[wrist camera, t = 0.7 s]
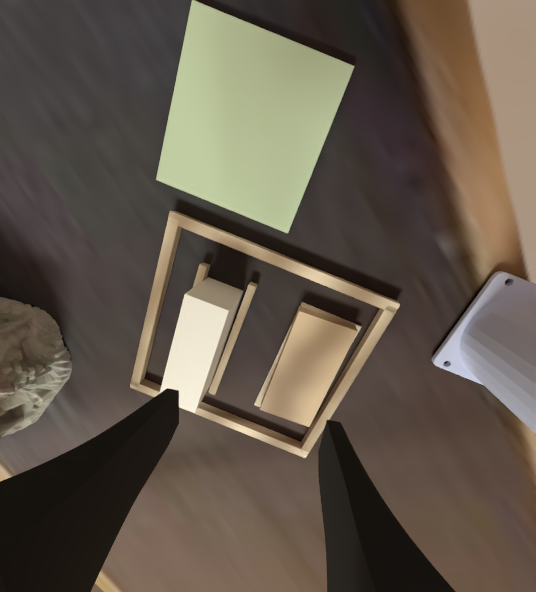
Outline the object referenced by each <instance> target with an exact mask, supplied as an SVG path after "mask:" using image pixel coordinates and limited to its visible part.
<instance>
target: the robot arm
mask: <svg viewBox="0 0 536 592" xmlns="http://www.w3.org/2000/svg"><path fill="white" fill-rule="evenodd" d="M507 279H509V282H508V283H507V284H505V281H506V280H507ZM445 361H448V362H447V363H446V364H444V362H445ZM432 362H433V363H434V364H435V365H436V366H438V367H440V368H443V369H445V370H448V371H450V372H452V373H455V374H457V375H460V376H462V377H465V378H467V379H470V380H472V381H475V382H477V383H480V384H482V385H484V386H485V387H487V388H488V389H489V390H490V391H491V392H492V393H493V394H494V395H495V396H496V397H497V398H498V399H499V400H500V401H501V402H502V403H503V404H504V405H506V406H507V407H508V408H509V409H510V410H511V411H512V412H513V413H514V414H515V415H516V416H517V417H518V418H519V419H520V420H521V421H522V422H523V423H525V424H526V425H527V426H528V427H529V428H530V429H531V430H532V431H533V432H534V433H535V434H536V284H534V283H531V282H529V281H526V280H524V279H521V278H519V277H516V276H514V275H511V274H509V273H506V272H503V271H498V272H496V273H494V274H493V275H492V276H491V277H490V279H489V280H488V281H487V283H486V284H485V286H484V287H483V288H482V290H481V291H480V292H479V294H478V295H477V297H476V298H475V299H474V301H473V302H472V303H471V305H470V306H469V308H468V309H467V310H466V312H465V313H464V314H463V316H462V317H461V319H460V320H459V321H458V323H457V324H456V325H455V327H454V328H453V330H452V331H451V332H450V334H449V335H448V336H447V338H446V339H445V341H444V342H443V343H442V345H441V346H440V347H439V349H438V350H437V352H436V353H435V354H434V356H433V357H432ZM178 424H179V390H174V389H169V388H167V389H165V390H164V391H162V392H161V393H160V394H158V395H157V396H155V397H154V398H153V399H151V400H150V401H149V402H147V403H146V404H144V405H143V406H142V407H140V408H139V409H137V410H136V411H135V412H133V413H132V414H130V415H129V416H127V417H126V418H124V419H123V420H121V421H120V422H118V423H117V424H115V425H114V426H112V427H111V428H109V429H107V430H106V431H104V432H103V433H101V434H99V435H98V436H96V437H94V438H92V439H91V440H89V441H87V442H85V443H83V444H82V445H80V446H78V447H76V448H74V449H72V450H70V451H68V452H66V453H64V454H62V455H60V456H58V457H56V458H54V459H52V460H50V461H48V462H46V463H43V464H41V465H39V466H37V467H34V468H32V469H30V470H28V471H25V472H23V473H20V474H18V475H16V476H13V477H11V478H8V479H6V480H3V481H1V482H0V592H91V590H92V587H93V585H94V583H95V581H96V579H97V577H98V575H99V572H100V570H101V568H102V566H103V564H104V562H105V560H106V557H107V555H108V553H109V551H110V549H111V547H112V545H113V543H114V541H115V539H116V537H117V535H118V533H119V531H120V529H121V527H122V525H123V523H124V521H125V519H126V517H127V515H128V513H129V511H130V509H131V507H132V505H133V503H134V502H135V500H136V498H137V496H138V494H139V493H140V491H141V489H142V488H143V486H144V485H145V483H146V481H147V480H148V478H149V476H150V475H151V473H152V471H153V470H154V468H155V466H156V465H157V463H158V462H159V460H160V458H161V457H162V455H163V453H164V452H165V450H166V448H167V447H168V445H169V443H170V441H171V439H172V437H173V435H174V432H175V430H176V428H177V426H178ZM319 485H320V495H321V504H322V513H323V522H324V531H325V542H326V558H327V591H328V592H455V591H454V590H453V588H452V587H451V586H450V585H449V584H448V583H447V582H446V580H445V579H444V578H443V577H442V576H441V575H440V574H439V572H438V571H437V570H436V569H435V568H434V567H433V565H432V564H431V563H430V562H429V560H428V559H427V558H426V557H425V555H424V554H423V553H422V552H421V550H420V549H419V548H418V547H417V545H416V544H415V543H414V542H413V540H412V539H411V538H410V537H409V535H408V534H407V533H406V531H405V530H404V529H403V527H402V526H401V525H400V523H399V522H398V521H397V519H396V518H395V516H394V515H393V513H392V512H391V511H390V509H389V508H388V506H387V505H386V503H385V502H384V500H383V499H382V497H381V496H380V494H379V492H378V491H377V489H376V488H375V486H374V484H373V483H372V481H371V479H370V478H369V476H368V474H367V473H366V471H365V469H364V467H363V465H362V464H361V462H360V460H359V458H358V456H357V455H356V453H355V451H354V449H353V447H352V445H351V443H350V441H349V439H348V437H347V435H346V433H345V431H344V428H343V426H342V424H341V423H340V422H336V421H331V420H327V421H326V425H325V429H324V433H323V436H322V440H321V444H320V448H319Z"/></svg>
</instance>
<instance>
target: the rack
mask: <svg viewBox="0 0 536 592" xmlns="http://www.w3.org/2000/svg"><path fill="white" fill-rule="evenodd" d="M182 228H184V229H187V230H189V231H192V232H194V233H197V234H199V235H202V236H204V237H206V238H209V239H211V240H214V241H216V242H219V243H221V244H224V245H226V246H229V247H231V248H234V249H236V250H238V251H241V252H243V253H246V254H248V255H251V256H253V257H256V258H258V259H261V260H263V261H265V262H268V263H270V264H273V265H275V266H278V267H280V268H283V269H285V270H288V271H290V272H293V273H295V274H297V275H300V276H302V277H305V278H307V279H310V280H312V281H315V282H317V283H320V284H322V285H324V286H327V287H329V288H332V289H334V290H337V291H339V292H342V293H344V294H347V295H349V296H352V297H354V298H356V299H359V300H361V301H364V302H366V303H369V304H371V305H374V306H376V307H379V308H380V309H379V311H378V312H377V314H376V316H375V317H374V319H373V321H372V323H371V324H370V326H369V328H368V329H367V331H366V333H365V334H364V336H363V338H362V339H361V341H360V343H359V345H358V346H357V348H356V350H355V351H354V353H353V355H352V356H351V358H350V360H349V361H348V363H347V365H346V367H345V368H344V370H343V372H342V373H341V375H340V377H339V378H338V380H337V382H336V383H335V385H334V387H333V389H332V390H331V392H330V394H329V395H328V397H327V399H326V400H325V402H324V404H323V406H322V407H321V409H320V411H319V412H318V414H317V416H316V417H315V419H314V421H313V422H312V424H311V426H310V428H309V429H308V431H307V433H306V434H305V436H304V438H303V439H302V441H301V442H300V441H297V440H295V439H292V438H290V437H288V436H285V435H283V434H280V433H278V432H275V431H273V430H270V429H268V428H265V427H263V426H260V425H258V424H255V423H253V422H250V421H248V420H245V419H243V418H241V417H238V416H236V415H233V414H231V413H228V412H226V411H223V410H221V409H218V408H216V407H213V406H211V405H208V404H206V403H203V402H201V403H200V405H199V406H198V408H197V410H196V412H195V414H197V415H200V416H202V417H205V418H207V419H210V420H212V421H215V422H217V423H220V424H222V425H225V426H227V427H230V428H232V429H234V430H237V431H239V432H242V433H244V434H247V435H249V436H252V437H254V438H257V439H259V440H262V441H264V442H267V443H269V444H272V445H274V446H277V447H279V448H281V449H284V450H286V451H289V452H291V453H294V454H296V455H299V456H301V457H304V458H306V457H307V455H308V453H309V452H310V450H311V448H312V447H313V445H314V444H315V442H316V440H317V439H318V437H319V436H320V434H321V432H322V431H323V429H324V427H325V425H326V421H327V420H329V419H330V418H331V416H332V415H333V413H334V411H335V410H336V408H337V406H338V405H339V403H340V402H341V400H342V398H343V397H344V395H345V393H346V392H347V390H348V389H349V387H350V385H351V384H352V382H353V381H354V379H355V377H356V376H357V374H358V372H359V371H360V369H361V368H362V366H363V364H364V363H365V361H366V360H367V358H368V356H369V355H370V353H371V351H372V350H373V348H374V347H375V345H376V343H377V342H378V340H379V339H380V337H381V335H382V334H383V332H384V330H385V329H386V327H387V326H388V324H389V322H390V321H391V319H392V318H393V316H394V314H395V313H396V311H397V309H398V308H399V306H400V304H399V303H398V302H397V301H396V300H393V299H391V298H388V297H386V296H383V295H381V294H378V293H376V292H374V291H371V290H369V289H366V288H364V287H361V286H359V285H356V284H354V283H351V282H349V281H346V280H344V279H342V278H339V277H337V276H334V275H332V274H329V273H327V272H324V271H322V270H319V269H317V268H315V267H312V266H310V265H307V264H305V263H302V262H300V261H297V260H295V259H292V258H290V257H288V256H285V255H283V254H280V253H278V252H275V251H273V250H270V249H268V248H265V247H263V246H260V245H258V244H256V243H253V242H251V241H248V240H246V239H243V238H241V237H238V236H236V235H233V234H231V233H229V232H226V231H224V230H221V229H219V228H216V227H214V226H211V225H209V224H206V223H204V222H202V221H199V220H197V219H194V218H192V217H189V216H187V215H184V214H182V213H179V212H177V211H170V213H169V217H168V222H167V226H166V231H165V235H164V239H163V244H162V248H161V253H160V257H159V261H158V266H157V270H156V275H155V279H154V283H153V288H152V292H151V297H150V301H149V305H148V310H147V314H146V318H145V323H144V327H143V332H142V336H141V340H140V345H139V349H138V354H137V358H136V362H135V367H134V371H133V376H132V380H131V384H130V387H131V388H133V389H136V390H138V391H140V392H143V393H145V394H148V395H150V396H153V397H155V396H157V395H158V394H159V393H160V389H161V385H159V384H156V383H154V382H151V381H149V380H147V379H144V378H145V374H146V370H147V366H148V362H149V358H150V354H151V350H152V346H153V342H154V338H155V334H156V330H157V326H158V322H159V318H160V314H161V310H162V306H163V302H164V298H165V294H166V290H167V286H168V282H169V278H170V274H171V270H172V266H173V262H174V258H175V254H176V250H177V246H178V242H179V238H180V234H181V230H182ZM209 269H210V265H209V264H206V263H204V262H203V263H201V264H199V268H198V271H197V275H196V278H195V282H194V285H193V288H194V287H195V286H197V285H198V284H200V283H201V282H202V281H204V280H205V279H206V278H207V275H208V272H209ZM257 285H258V284H256V283H253V282H250V283H249V285H248V288H247V290H246V293H245V296H244V298H243V301H242V304H241V307H240V309H239V312H238V315H237V317H236V320H235V323H234V325H233V328H232V331H231V333H230V336H229V339H228V342H227V344H226V347H225V350H224V352H223V355H222V358H221V360H220V363H219V366H218V368H217V371H216V374H215V377H214V379H213V382H212V385H211V387H210V390H209V393H211V394H213V395H215V393H216V391H217V389H218V387H219V384H220V381H221V379H222V376H223V374H224V371H225V368H226V366H227V363H228V361H229V358H230V355H231V353H232V350H233V348H234V345H235V342H236V340H237V337H238V335H239V332H240V329H241V327H242V324H243V322H244V319H245V317H246V314H247V311H248V309H249V306H250V304H251V301H252V298H253V296H254V293H255V291H256V288H257ZM185 410H186V409H185ZM187 411H188V410H187ZM190 412H191V411H190ZM192 413H193V412H192Z"/></svg>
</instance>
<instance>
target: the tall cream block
mask: <svg viewBox="0 0 536 592" xmlns="http://www.w3.org/2000/svg"><path fill="white" fill-rule="evenodd" d="M242 294H243V290H240V289H238V288H235V287H232V286H230V285H227V284H225V283H222V282H219V281H217V280H214V279H211V278H209V277H208V278H207V279H205V280H204V281H202V282H201V283H200V284H198V285H197V286H195V287H194V288H193V289H191V290H190V291H188V292H187V293H185V295H184V299H183V303H182V307H181V311H180V315H179V319H178V323H177V327H176V330H175V334H174V338H173V342H172V346H171V350H170V354H169V358H168V362H167V366H166V370H165V373H164V377H163V381H162V385H161V389H160V393H161V392H162V391H164V390H165V389H167V388H169V389H174V390H179V407H180V408H183V409H186V410H188V411H191V412H193V413H195V412H196V410H197V408H198V406H199V405H200V403H201V401H202V399H203V397H204V395H205V393H206V391H207V389H208V387H209V386H210V384H211V382H212V380H213V378H214V375H215V372H216V369H217V367H218V364H219V361H220V358H221V355H222V352H223V349H224V346H225V343H226V340H227V337H228V334H229V332H230V329H231V326H232V323H233V320H234V317H235V314H236V311H237V308H238V305H239V302H240V299H241V296H242ZM160 393H159V394H160Z"/></svg>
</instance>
